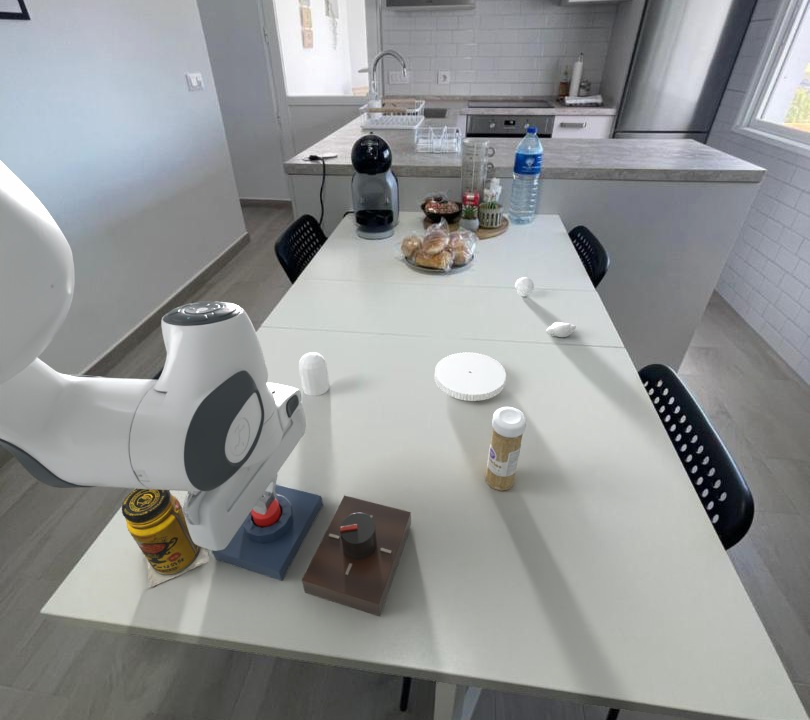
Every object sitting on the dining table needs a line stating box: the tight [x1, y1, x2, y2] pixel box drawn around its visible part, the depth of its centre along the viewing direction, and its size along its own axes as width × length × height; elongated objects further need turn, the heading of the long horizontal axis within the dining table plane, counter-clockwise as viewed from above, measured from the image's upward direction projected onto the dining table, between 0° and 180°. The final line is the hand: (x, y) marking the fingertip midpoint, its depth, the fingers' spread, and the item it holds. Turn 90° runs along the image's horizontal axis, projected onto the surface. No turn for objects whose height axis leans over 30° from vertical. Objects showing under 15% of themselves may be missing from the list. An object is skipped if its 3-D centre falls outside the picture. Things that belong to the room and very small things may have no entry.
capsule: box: [298, 351, 331, 397], centre depth 87 cm, size 5×5×8 cm
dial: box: [340, 513, 377, 559], centre depth 57 cm, size 4×4×4 cm
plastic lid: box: [434, 351, 507, 402], centre depth 89 cm, size 14×14×2 cm
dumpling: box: [545, 321, 578, 338], centre depth 102 cm, size 7×5×4 cm
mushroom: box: [514, 276, 535, 298], centre depth 118 cm, size 5×5×5 cm
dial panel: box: [301, 494, 412, 617], centre depth 59 cm, size 13×10×3 cm
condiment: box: [121, 489, 210, 588], centre depth 57 cm, size 7×8×12 cm
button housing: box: [211, 483, 324, 582], centre depth 62 cm, size 12×10×4 cm
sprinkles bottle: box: [484, 406, 527, 491], centre depth 66 cm, size 5×5×13 cm
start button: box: [251, 499, 281, 527], centre depth 60 cm, size 4×4×2 cm
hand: (265, 504), depth 59 cm, fingers closed
